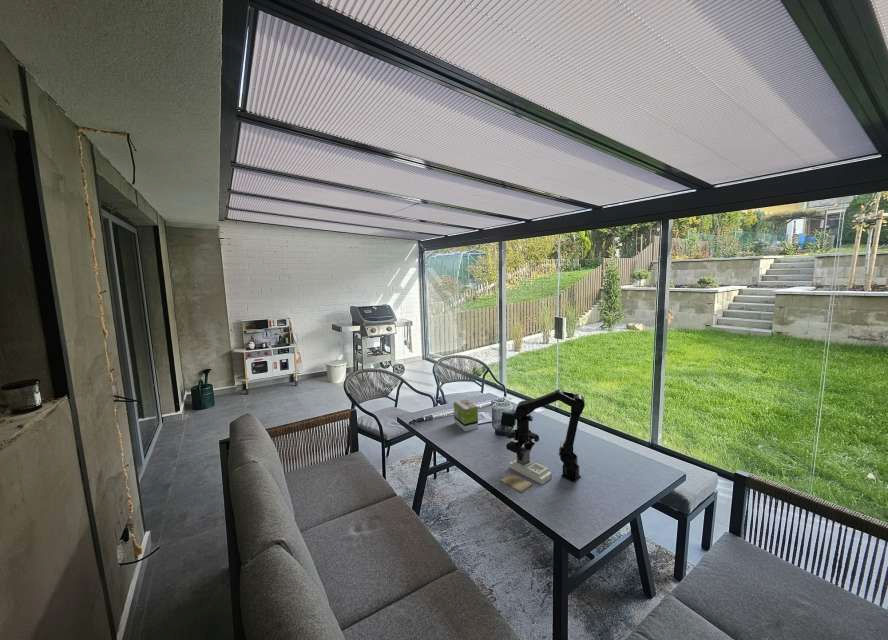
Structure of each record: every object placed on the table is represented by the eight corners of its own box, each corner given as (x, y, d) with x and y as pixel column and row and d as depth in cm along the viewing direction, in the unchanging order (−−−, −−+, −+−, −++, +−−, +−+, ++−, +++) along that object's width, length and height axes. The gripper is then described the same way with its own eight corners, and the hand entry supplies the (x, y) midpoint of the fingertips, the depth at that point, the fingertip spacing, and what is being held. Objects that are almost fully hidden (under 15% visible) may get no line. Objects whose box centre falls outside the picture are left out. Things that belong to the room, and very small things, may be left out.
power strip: (551, 477, 159) (551, 469, 159) (542, 484, 154) (542, 476, 154) (519, 462, 174) (519, 454, 173) (509, 467, 169) (509, 459, 168)
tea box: (453, 423, 224) (453, 401, 222) (467, 420, 228) (466, 398, 226) (464, 432, 210) (464, 409, 208) (478, 428, 214) (478, 406, 213)
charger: (529, 463, 166) (529, 449, 166) (524, 466, 164) (523, 452, 163) (522, 460, 170) (522, 446, 169) (516, 463, 167) (516, 449, 166)
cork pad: (532, 485, 154) (532, 484, 154) (521, 492, 149) (521, 491, 149) (511, 474, 163) (511, 473, 163) (500, 480, 158) (500, 479, 158)
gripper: (521, 417, 177) (521, 446, 178) (497, 428, 165) (497, 459, 167) (539, 424, 168) (539, 454, 170) (515, 436, 156) (516, 468, 158)
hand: (523, 458), depth 166 cm, fingers closed on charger, 4 cm apart
